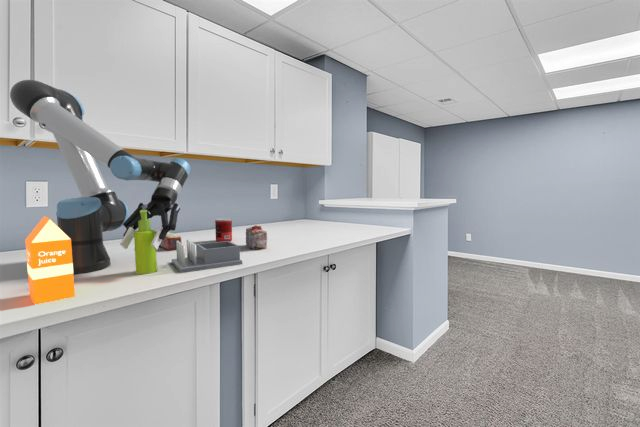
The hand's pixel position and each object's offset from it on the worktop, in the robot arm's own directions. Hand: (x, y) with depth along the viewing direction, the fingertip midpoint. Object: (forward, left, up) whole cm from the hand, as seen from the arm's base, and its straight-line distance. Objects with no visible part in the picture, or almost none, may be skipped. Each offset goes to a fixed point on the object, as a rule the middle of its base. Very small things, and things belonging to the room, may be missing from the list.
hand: (138, 246), depth 98 cm
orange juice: (-20, -9, -9) cm, 24 cm away
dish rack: (+21, +3, -9) cm, 23 cm away
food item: (+47, +22, -9) cm, 53 cm away
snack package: (+15, +44, -9) cm, 48 cm away
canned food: (+40, +44, -9) cm, 61 cm away
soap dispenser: (+2, +2, -9) cm, 10 cm away
